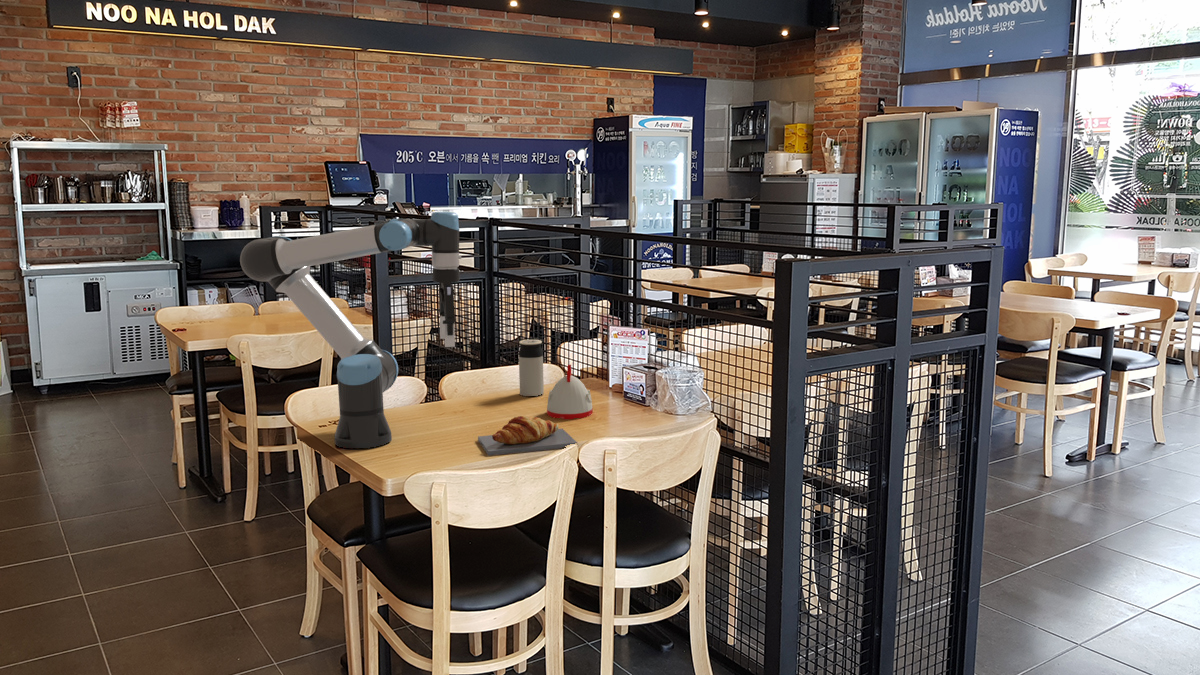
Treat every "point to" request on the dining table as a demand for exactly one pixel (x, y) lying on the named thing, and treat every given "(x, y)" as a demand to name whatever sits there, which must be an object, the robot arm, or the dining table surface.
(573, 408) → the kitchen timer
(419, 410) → the dining table surface
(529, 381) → the travel mug
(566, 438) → the slate board
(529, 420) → the croissant
